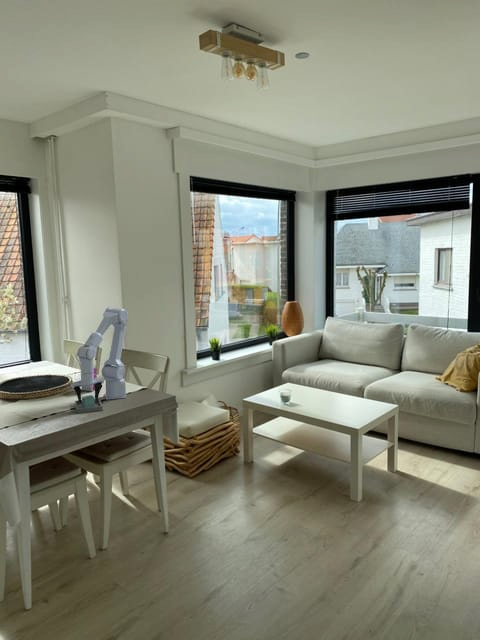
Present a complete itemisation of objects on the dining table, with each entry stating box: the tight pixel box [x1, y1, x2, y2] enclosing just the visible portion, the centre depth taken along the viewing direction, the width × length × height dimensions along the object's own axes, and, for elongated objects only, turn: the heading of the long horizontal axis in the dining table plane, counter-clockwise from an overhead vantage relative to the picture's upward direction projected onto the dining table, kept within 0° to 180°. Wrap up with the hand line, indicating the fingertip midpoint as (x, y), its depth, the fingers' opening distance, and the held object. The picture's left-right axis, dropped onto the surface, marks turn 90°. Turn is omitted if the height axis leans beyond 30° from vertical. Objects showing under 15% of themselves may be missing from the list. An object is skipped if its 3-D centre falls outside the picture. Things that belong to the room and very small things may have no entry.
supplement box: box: [81, 367, 98, 393], centre depth 248 cm, size 6×6×12 cm
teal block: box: [81, 394, 95, 408], centre depth 224 cm, size 4×4×4 cm
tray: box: [74, 397, 104, 414], centre depth 225 cm, size 11×11×2 cm
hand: (88, 400), depth 224 cm, fingers open, 7 cm apart
